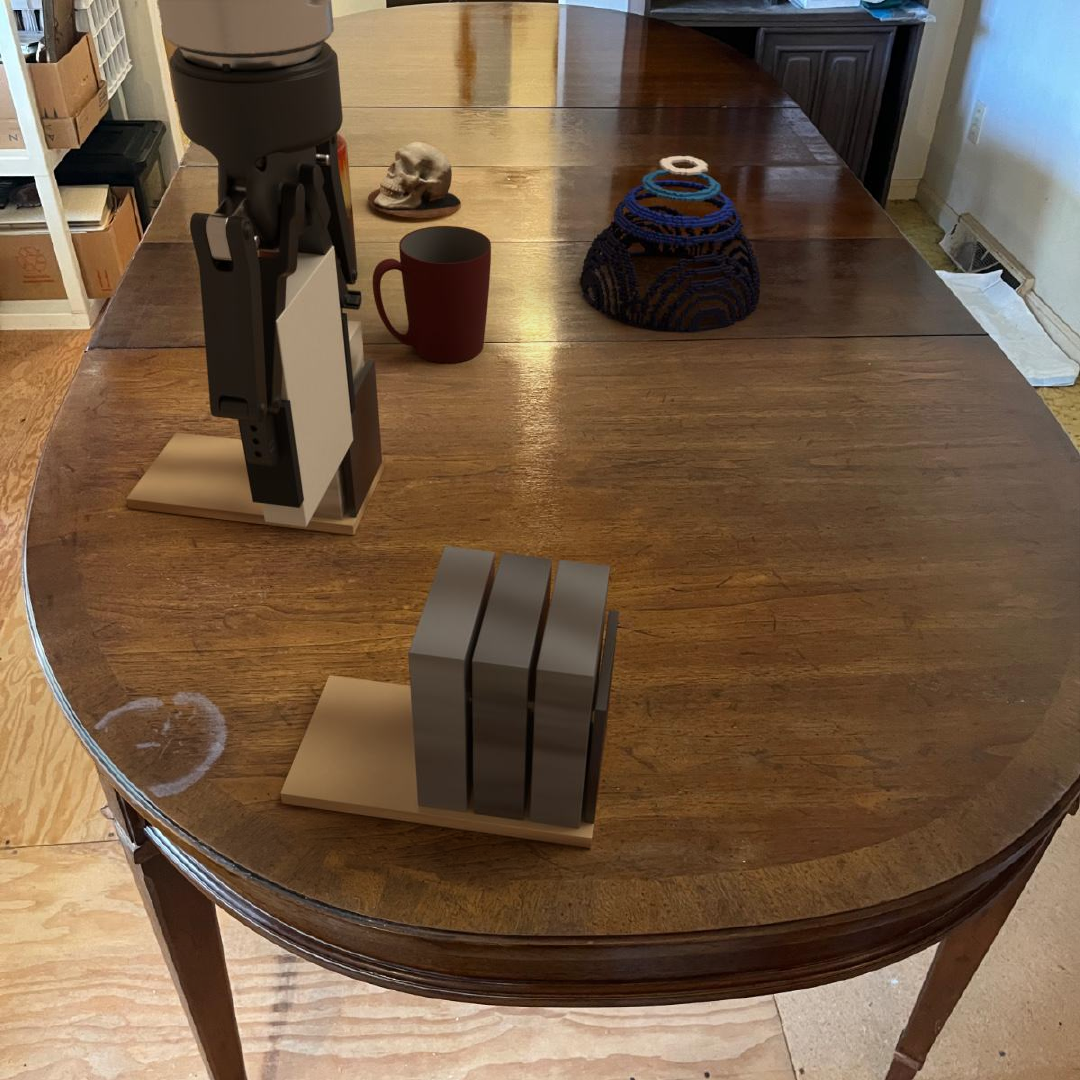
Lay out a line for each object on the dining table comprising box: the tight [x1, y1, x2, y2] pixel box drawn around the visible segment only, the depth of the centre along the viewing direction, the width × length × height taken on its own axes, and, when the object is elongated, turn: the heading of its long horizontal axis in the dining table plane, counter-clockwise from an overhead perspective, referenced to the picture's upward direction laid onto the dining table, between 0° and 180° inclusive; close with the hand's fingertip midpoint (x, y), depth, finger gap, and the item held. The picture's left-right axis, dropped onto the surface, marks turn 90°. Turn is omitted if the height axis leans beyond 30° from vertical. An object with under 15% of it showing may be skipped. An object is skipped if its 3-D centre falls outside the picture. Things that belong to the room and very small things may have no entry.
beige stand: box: [125, 319, 387, 536], centre depth 85 cm, size 10×19×14 cm, turn 82°
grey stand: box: [279, 545, 620, 849], centre depth 63 cm, size 10×19×14 cm, turn 82°
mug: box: [372, 225, 492, 364], centre depth 106 cm, size 12×9×11 cm
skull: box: [367, 141, 462, 220], centre depth 138 cm, size 12×10×10 cm
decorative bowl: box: [579, 155, 761, 333], centre depth 117 cm, size 20×20×14 cm
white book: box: [262, 246, 353, 527], centre depth 60 cm, size 9×2×13 cm, turn 171°
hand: (307, 451), depth 63 cm, fingers closed on white book, 9 cm apart
